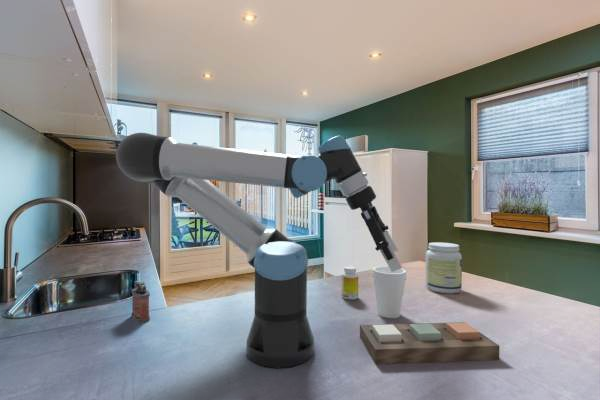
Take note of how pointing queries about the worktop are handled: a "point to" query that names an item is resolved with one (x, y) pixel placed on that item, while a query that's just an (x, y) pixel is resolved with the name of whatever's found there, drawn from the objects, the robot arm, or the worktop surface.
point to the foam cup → (389, 290)
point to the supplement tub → (444, 268)
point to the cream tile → (386, 333)
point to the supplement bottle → (349, 283)
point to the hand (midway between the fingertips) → (395, 260)
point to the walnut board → (427, 347)
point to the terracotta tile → (462, 331)
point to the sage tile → (424, 332)
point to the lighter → (140, 303)
